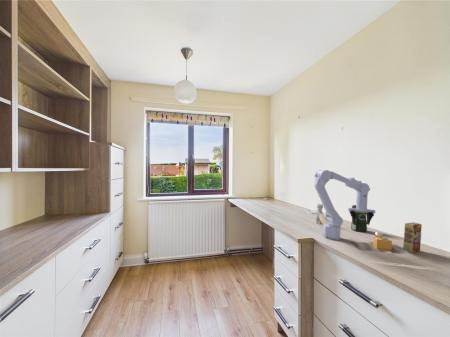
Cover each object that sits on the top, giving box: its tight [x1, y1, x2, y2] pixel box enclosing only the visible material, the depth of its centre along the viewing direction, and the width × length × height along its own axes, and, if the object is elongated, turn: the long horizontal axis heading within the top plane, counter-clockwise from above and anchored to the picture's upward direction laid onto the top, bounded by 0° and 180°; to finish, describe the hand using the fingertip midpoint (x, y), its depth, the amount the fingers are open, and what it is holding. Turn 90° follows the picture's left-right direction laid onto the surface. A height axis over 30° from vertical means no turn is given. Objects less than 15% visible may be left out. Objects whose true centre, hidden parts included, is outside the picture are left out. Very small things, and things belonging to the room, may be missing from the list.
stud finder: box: [373, 236, 393, 250], centre depth 117 cm, size 7×4×5 cm, turn 76°
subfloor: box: [349, 240, 402, 256], centre depth 118 cm, size 20×19×1 cm
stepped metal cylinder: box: [374, 231, 383, 238], centre depth 121 cm, size 3×3×7 cm
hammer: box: [315, 203, 328, 227], centre depth 159 cm, size 16×5×30 cm
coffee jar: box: [350, 204, 368, 232], centre depth 155 cm, size 10×8×19 cm
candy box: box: [402, 222, 423, 254], centre depth 117 cm, size 9×4×15 cm, turn 115°
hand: (360, 223), depth 132 cm, fingers open, 7 cm apart
